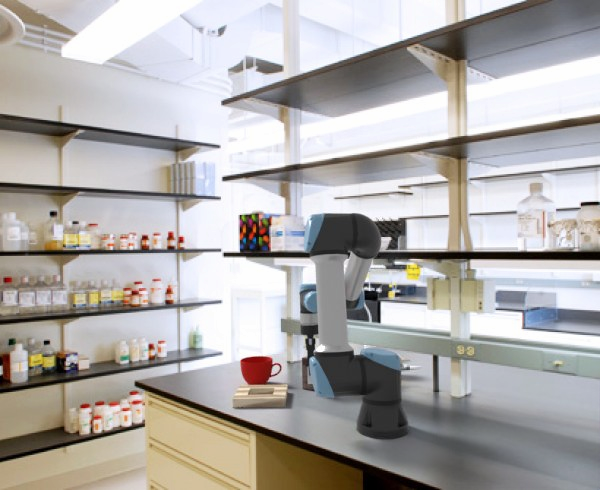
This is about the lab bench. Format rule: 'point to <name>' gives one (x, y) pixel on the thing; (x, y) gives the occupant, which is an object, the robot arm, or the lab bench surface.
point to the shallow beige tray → (260, 396)
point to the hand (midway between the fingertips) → (311, 379)
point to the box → (305, 376)
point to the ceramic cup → (257, 369)
